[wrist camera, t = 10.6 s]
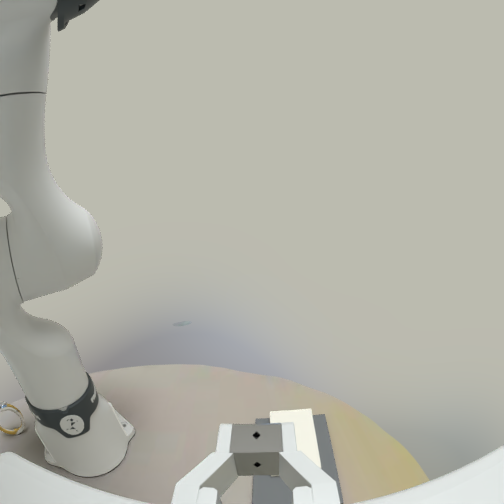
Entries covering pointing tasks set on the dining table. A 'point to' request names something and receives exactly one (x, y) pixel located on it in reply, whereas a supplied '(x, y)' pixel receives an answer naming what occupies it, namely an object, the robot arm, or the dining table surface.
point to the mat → (274, 488)
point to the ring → (3, 406)
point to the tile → (300, 431)
